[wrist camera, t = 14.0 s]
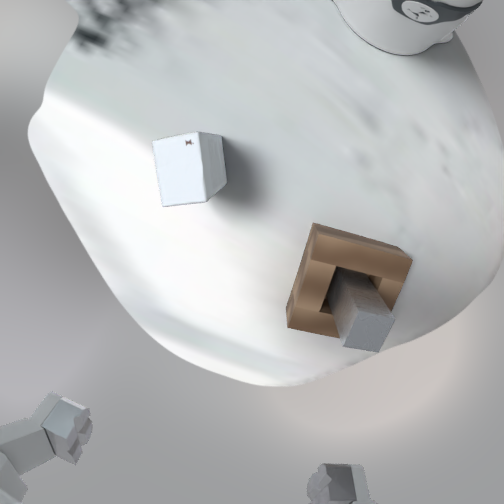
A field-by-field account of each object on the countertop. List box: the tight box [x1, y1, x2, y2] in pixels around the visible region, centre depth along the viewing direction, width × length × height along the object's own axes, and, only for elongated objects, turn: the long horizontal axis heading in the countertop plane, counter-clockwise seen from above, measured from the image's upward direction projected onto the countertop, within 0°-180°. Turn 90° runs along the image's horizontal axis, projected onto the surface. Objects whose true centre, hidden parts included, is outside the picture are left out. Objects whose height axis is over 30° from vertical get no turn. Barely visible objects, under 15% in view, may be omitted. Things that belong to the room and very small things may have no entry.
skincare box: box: [152, 131, 227, 207], centre depth 30 cm, size 6×4×12 cm
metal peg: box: [326, 266, 395, 352], centre depth 33 cm, size 4×4×12 cm
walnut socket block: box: [286, 223, 413, 338], centre depth 37 cm, size 12×12×5 cm
